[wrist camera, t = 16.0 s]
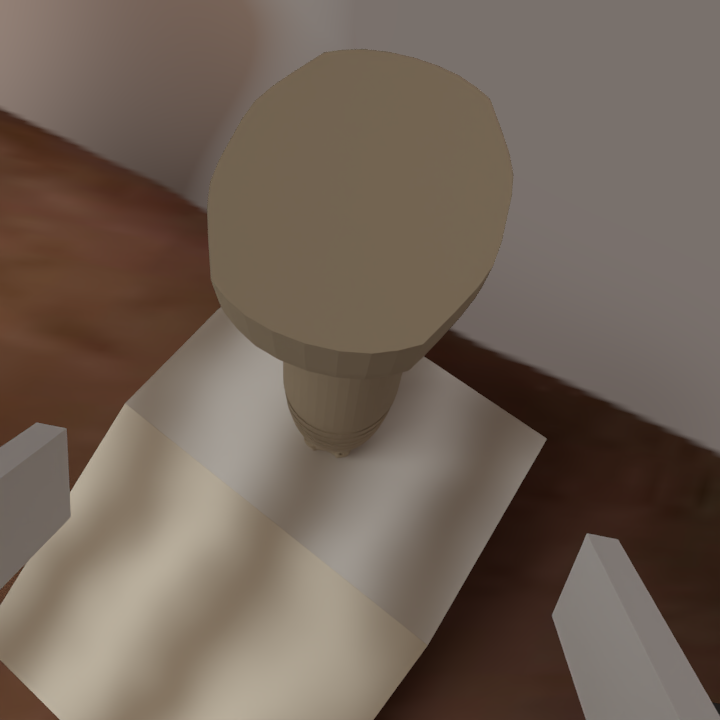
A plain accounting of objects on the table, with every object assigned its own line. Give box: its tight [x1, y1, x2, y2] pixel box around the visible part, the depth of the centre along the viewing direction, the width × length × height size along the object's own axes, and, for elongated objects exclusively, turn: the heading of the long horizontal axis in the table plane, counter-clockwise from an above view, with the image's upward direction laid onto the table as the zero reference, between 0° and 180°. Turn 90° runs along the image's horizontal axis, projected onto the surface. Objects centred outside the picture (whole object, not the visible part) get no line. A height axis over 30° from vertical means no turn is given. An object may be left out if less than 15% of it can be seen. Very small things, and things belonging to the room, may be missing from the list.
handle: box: [207, 49, 513, 458], centre depth 15 cm, size 5×6×15 cm
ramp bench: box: [0, 307, 547, 720], centre depth 24 cm, size 16×22×8 cm
